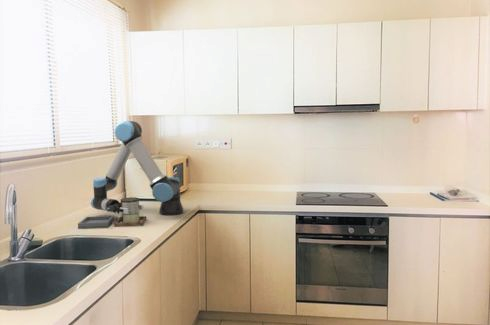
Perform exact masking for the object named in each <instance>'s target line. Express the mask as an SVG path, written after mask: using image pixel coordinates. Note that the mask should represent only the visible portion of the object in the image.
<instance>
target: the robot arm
mask: <svg viewBox="0 0 490 325" xmlns="http://www.w3.org/2000/svg"><path fill="white" fill-rule="evenodd" d="M142 132H143V129H142V126H141V125H140V123H138V122H137V121H133V120H129V121H127V120H123V121H120V122H119V123H117V125H115V128H114V135H115V137H116V139H117V140H118V141H121V144H120V146H119V148H118V150H117V152H116V154H115V156H114V159H113V160H112V163H111V164H110V167H109V169H108V171H107V173H106V175H105V177H95V178H94V179H93V180H92V181H93V186H92V187H93V197H92V198H91V201H90V205H91V207H92V208H93V209H95V210H100V211H105V212H107V213H109V212H110V213H114V214H115V213H117V215H118V214H119V215H120V213H127V214H128V209H127V208H121V202H120V200H118V199H113V198H108V192H110V191H112V190H114V189H115V188H116V187H117V186H118V180H119V178H120V175H121V174H122V171H123V169H124V168H125V165H126V163H127V162H128V159H129V157H130V155H131V153H132V155H133V157H134V159H135V160H136V162H137V163H138V164H139V166H140V167H141V168H140V169H142V170H143V172H144V174H145V176H146V177H147V179H148V180H149V182H150V183H149V187H150V189H151V193H152V197H153V198H154V200H156V201H157V202H161V203H160V206H159V210H158V211H159V214H160V215H162V216H163V215H164V216H175V215H181V214H183V213H184V206H183V204H182V201H181V180H180V178H179V177H177V176H175V177H172V176H171V177H169V176H167V175H166V174H163V172H162V171H161V169H160V167H159V166H158V165H157V163H156V161H155V159H153V158H154V157H153V156H152V155H151V154H150V152H149V150H148V149H147V147H146V146H145V144H144V142H143V141H142V140H143V136H142V134H143V133H142ZM143 210H144V205H143V204H139V211H143Z"/></svg>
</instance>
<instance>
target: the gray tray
mask: <svg viewBox="0 0 490 325" xmlns="http://www.w3.org/2000/svg"><path fill="white" fill-rule="evenodd" d="M113 223H115V215H100V216H99V215H98V216H97V215H96V216H86V217H84V218H83V219H82V220H80V221H79V222H77V229H79V230H80V229H83V230H84V229H107V228H109V227H110V226H111V225H112V224H113Z"/></svg>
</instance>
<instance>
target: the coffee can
mask: <svg viewBox="0 0 490 325" xmlns="http://www.w3.org/2000/svg"><path fill="white" fill-rule="evenodd" d="M119 202H120V203H121V208H127V209H128V214H127V213H121V212H120V213H121V217H122V221H121V223H124V222H141V220H140V215H141V214H140V210H139V205H140V197H133V196H132V197H130V196H129V197H124V198H120V200H119Z"/></svg>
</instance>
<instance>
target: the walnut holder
mask: <svg viewBox="0 0 490 325" xmlns="http://www.w3.org/2000/svg"><path fill="white" fill-rule="evenodd" d="M147 220H148V219H147V215H143V216H140V222H124V223H122V216H120V217H119V218H117V219H116V221H114V222H113V223H114V225H113V226H114V228H116V227H117V228H118V227H119V228H121V227H143V226H144V225H145V223H146V222H147Z"/></svg>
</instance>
